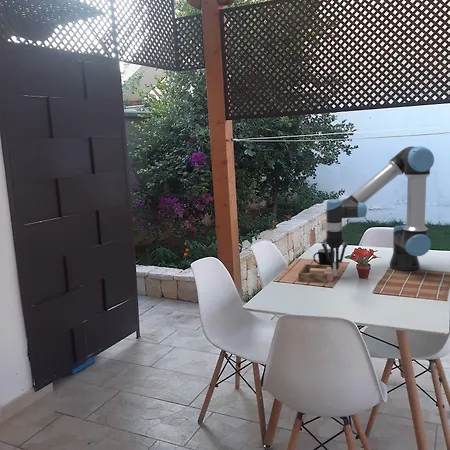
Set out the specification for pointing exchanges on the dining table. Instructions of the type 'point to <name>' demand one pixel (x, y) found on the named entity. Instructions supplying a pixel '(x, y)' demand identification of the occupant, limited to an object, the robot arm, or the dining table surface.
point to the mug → (323, 257)
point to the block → (323, 272)
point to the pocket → (312, 277)
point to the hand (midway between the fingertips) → (334, 275)
